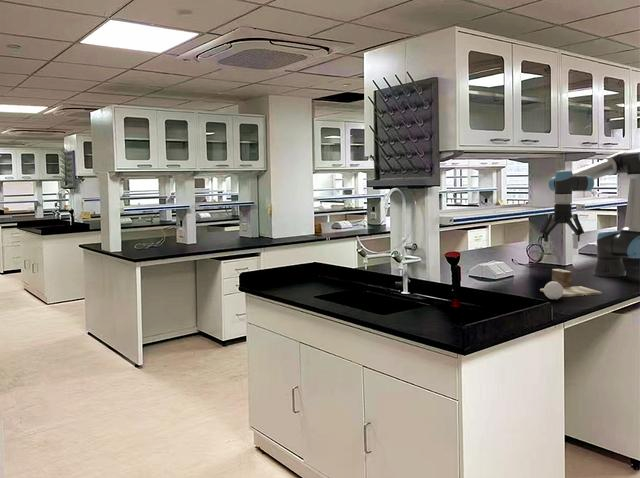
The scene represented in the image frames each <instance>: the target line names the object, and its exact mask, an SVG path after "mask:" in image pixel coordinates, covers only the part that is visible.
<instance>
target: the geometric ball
mask: <svg viewBox="0 0 640 478" xmlns="http://www.w3.org/2000/svg"><path fill="white" fill-rule="evenodd" d="M543 289H544V292H543V293H544V295H545V296H546V297H547V298H548V299H550V300H554V299H555V300H559V299H560V298H562V297H561V296H562V295H563V287H562V285H560V284H559V283H558V282H553V281H552V280H551V281H548V282H547V283H546V284H545V286H544V288H543Z"/></svg>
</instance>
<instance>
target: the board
mask: <svg viewBox="0 0 640 478" xmlns="http://www.w3.org/2000/svg"><path fill="white" fill-rule="evenodd" d="M539 291H540V292H542V293H544V288H540V289H539ZM602 294H603V292H602V291H599V290H595V289H592V288H589V287H584V286H582V285H581V286H580V285H578V286H577V285H575V286H571V287H563V295H562V296H561V297H560V298H566V297H579V296H580V297H582V296H583V297H584V295H585V296H597V295H600V296H601V295H602Z"/></svg>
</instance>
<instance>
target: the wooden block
mask: <svg viewBox="0 0 640 478" xmlns="http://www.w3.org/2000/svg"><path fill="white" fill-rule="evenodd" d="M551 281H553V282H558V283H559V284H560V285H562V287H572V271H571V270H570V271H569V270H566V269H562V268H552V269H551Z"/></svg>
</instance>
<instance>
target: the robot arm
mask: <svg viewBox="0 0 640 478" xmlns="http://www.w3.org/2000/svg"><path fill="white" fill-rule="evenodd" d="M617 174H626V176H627V177H628V179H629V184H628V185H629V187H628V195H627V203H626V212H625V220H624V227H622V228H620V230H613V231H612V230H610V231H601V232H598V234H597V236H596V254H597V255H596V259H597V260H596V263H595V265H594V269H593V275H594V276H596V277H602V278H603V277H605V278H621V277H622V276H623V277H626V276H627V271H626V269H625V265H624V262H623V258H629V259H640V148H636V149H627V150H622V151H619V152H617V153H614V154H612V155H609V156H606V157H604V158H603V159H602V160H601V161H598V162H595V163H592V164H590V165H588V166H584V167H582V168H579V169H577V170H574V171H572V170H557V171H556V172H555V176H553V177H551V178H550V179H549V181H548V188H549V189H550V191H552V192H554V201H553V202H554V203H555V204H553V205H554V208H553V211H554V213H553V214H552V213H547V217H546V220H545V222H544V223H543V225H542V228H541V229H540V234H542V235H544V236H543V241H544V242H545V249H548V250H550V248H551V235H550V233H551V232H552V231H553V229H555V227H556V226H557V225H559V224H567V225H568V226H569V228H570V229H571V231H573V233H574V234H573V245H572V248H573V249H576V250H577V249H579V248H578V247H579V242H580V238H581V235H582V234H584V233H585V231H584V229H583V228H584V227H583V226H582V224H581V222H580V220H579V215H578V214H577V213H573V214H572V210H573V209H572V207H573V205H572V203H573V202H572V201H573V192H589V191H593V189H594V187H595V180H597V179H600V178H602V177H606V176H614V175H617ZM552 219H554V220H553V221H552ZM571 219H572V220H573V221H572V220H571ZM573 222H574V223H573Z"/></svg>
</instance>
